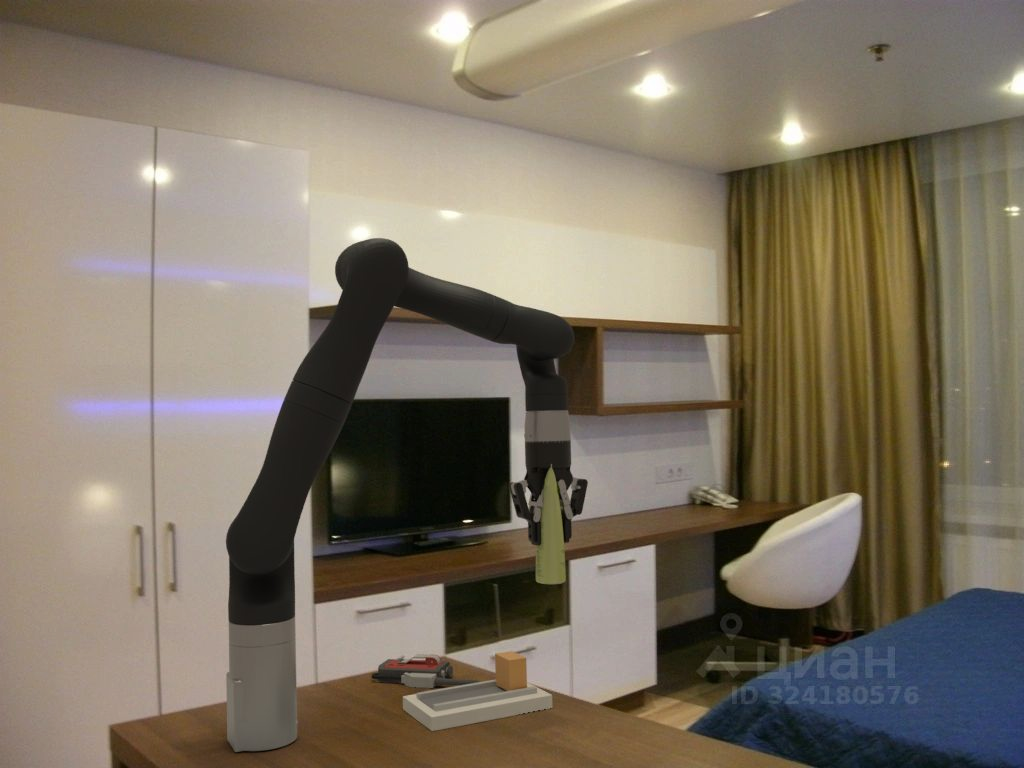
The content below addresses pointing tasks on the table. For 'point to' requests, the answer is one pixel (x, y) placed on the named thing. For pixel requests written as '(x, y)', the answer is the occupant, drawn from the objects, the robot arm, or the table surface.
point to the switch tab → (510, 671)
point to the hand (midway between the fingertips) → (550, 543)
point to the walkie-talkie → (418, 672)
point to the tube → (551, 537)
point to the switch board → (473, 704)
